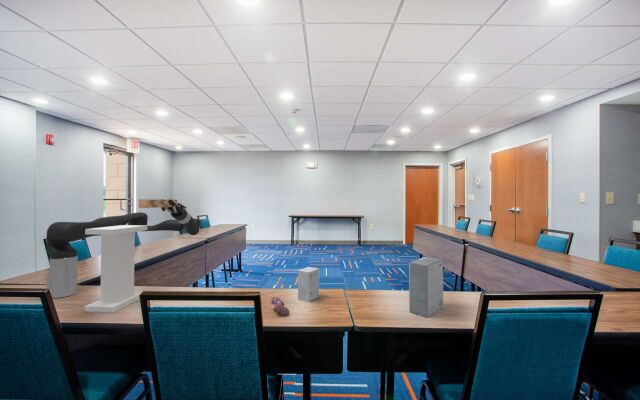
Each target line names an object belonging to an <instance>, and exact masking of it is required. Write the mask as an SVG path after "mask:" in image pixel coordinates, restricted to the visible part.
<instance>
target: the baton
mask: <svg viewBox="0 0 640 400" xmlns="http://www.w3.org/2000/svg"><path fill="white" fill-rule="evenodd" d="M171 200H172V201H174V202H175V203H177V204H178V199H171ZM168 201H169V199H163V200H161V199H146V198H145V199H138V208H139V209H151V208H154V209H155V208H161V207H173V206H171V205H170V204H169V203H168Z"/></svg>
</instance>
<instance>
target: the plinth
mask: <svg viewBox="0 0 640 400" xmlns="http://www.w3.org/2000/svg"><path fill="white" fill-rule="evenodd" d="M147 226H148V224H147V225H129V224H126V225H119V226H110V227H101V228H91V229H85V234H97V235H100V236H101V237H100V299H98V300H96V301H93V302H91V303H89V304H87V305H84V307H83V311H84V312H90V313H92V312H93V313H115V312H117V311H119V310H121V309H123V308H125V307H127V306H130V305H132V304H133V303H135V301H136V302H137V301H139V294H140V293H141V292H142V291H139V290H138V291H135V251H136V250H135V248H136V247H135V245H136V242H135V241H136V240H135V239H136V238H135V237H136V235H135V233H136V232H144V231H143V230H147ZM131 303H132V304H131Z"/></svg>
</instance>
